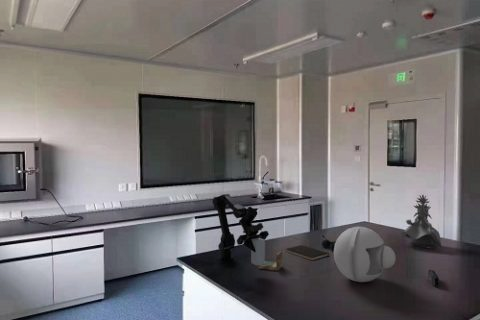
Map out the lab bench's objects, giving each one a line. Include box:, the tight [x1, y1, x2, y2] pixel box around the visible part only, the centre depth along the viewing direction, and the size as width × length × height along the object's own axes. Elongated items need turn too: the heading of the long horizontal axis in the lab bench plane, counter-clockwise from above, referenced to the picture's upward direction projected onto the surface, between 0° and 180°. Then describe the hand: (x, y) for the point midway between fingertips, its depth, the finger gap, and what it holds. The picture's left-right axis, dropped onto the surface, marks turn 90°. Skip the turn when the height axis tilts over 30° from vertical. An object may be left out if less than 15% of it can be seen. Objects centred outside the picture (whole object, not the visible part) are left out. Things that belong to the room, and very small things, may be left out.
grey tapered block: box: [250, 238, 266, 266], centre depth 193 cm, size 5×6×13 cm
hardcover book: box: [285, 244, 330, 261], centre depth 231 cm, size 16×23×2 cm
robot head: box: [333, 226, 397, 283], centre depth 183 cm, size 28×30×28 cm
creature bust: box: [401, 194, 442, 249], centre depth 244 cm, size 24×23×35 cm
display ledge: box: [257, 250, 283, 272], centre depth 205 cm, size 12×8×9 cm, turn 69°
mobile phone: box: [428, 269, 441, 290], centre depth 180 cm, size 5×3×15 cm
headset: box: [321, 234, 336, 252], centre depth 241 cm, size 13×9×19 cm
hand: (259, 251), depth 192 cm, fingers closed on grey tapered block, 5 cm apart
